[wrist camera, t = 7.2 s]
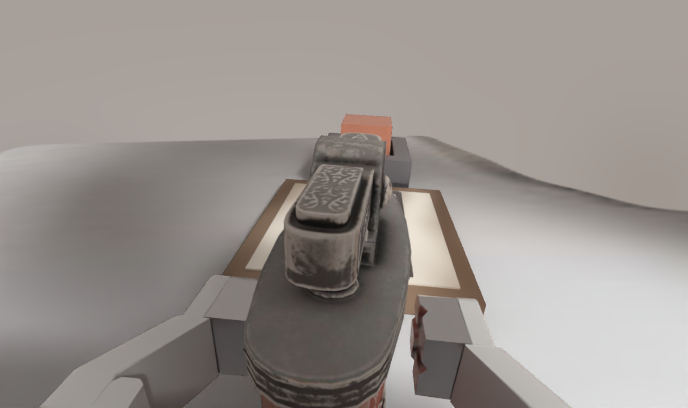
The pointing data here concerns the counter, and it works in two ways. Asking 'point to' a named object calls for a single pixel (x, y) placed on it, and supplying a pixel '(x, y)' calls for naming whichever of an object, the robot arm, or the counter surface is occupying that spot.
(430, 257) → the board
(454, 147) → the counter surface
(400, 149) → the button housing
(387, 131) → the button
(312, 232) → the lighter
